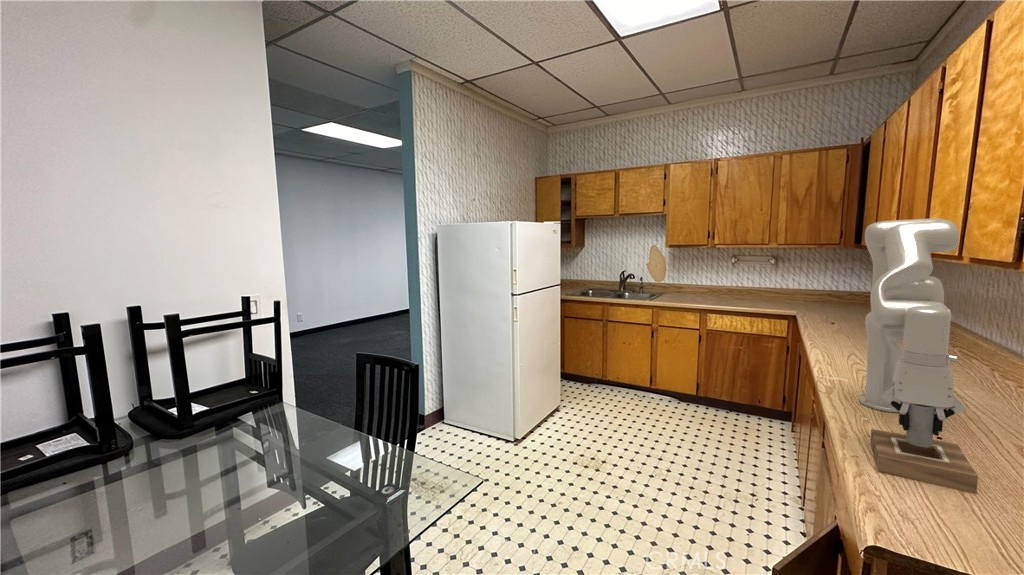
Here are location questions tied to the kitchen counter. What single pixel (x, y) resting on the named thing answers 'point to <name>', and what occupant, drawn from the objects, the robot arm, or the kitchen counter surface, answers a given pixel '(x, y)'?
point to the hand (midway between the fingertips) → (919, 430)
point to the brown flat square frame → (923, 461)
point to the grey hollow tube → (920, 425)
